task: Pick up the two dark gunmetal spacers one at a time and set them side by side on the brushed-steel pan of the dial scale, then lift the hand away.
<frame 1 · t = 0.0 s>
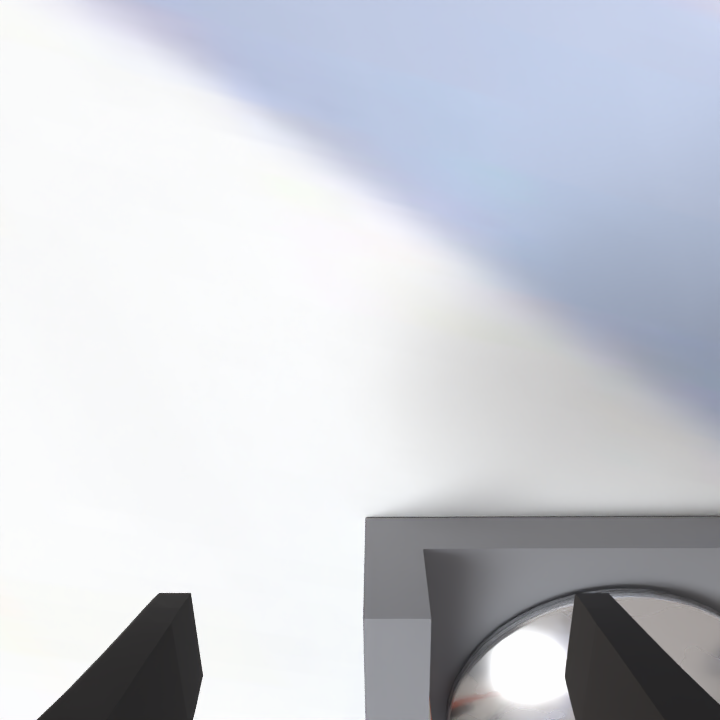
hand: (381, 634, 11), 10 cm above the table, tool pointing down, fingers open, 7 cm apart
scale: (550, 670, 25), on the table
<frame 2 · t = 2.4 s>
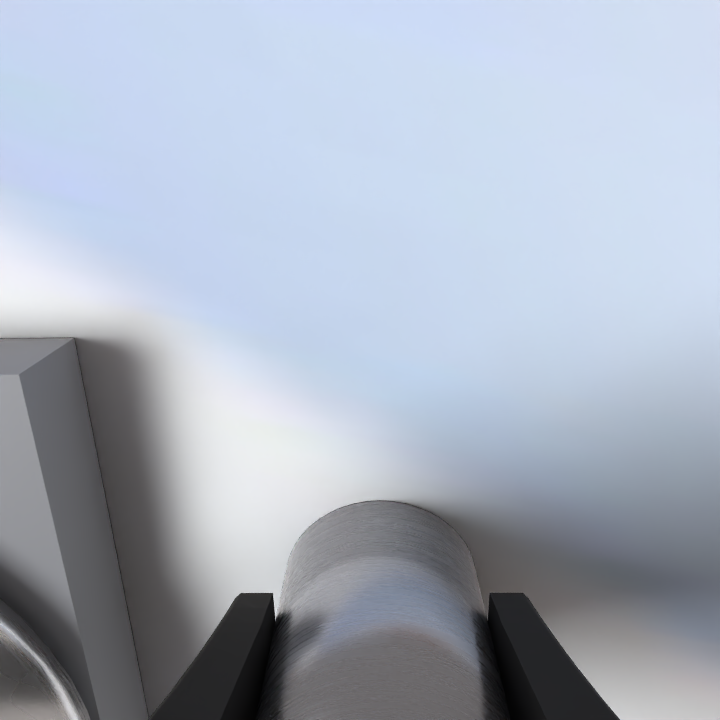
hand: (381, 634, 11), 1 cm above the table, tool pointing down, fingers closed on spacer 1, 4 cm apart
spacer 1: (380, 582, 13), on the table, touching gripper
when the fingers open (5 cm above the table, at t = 5.4 s): spacer 1 drops 1 cm, resting on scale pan.
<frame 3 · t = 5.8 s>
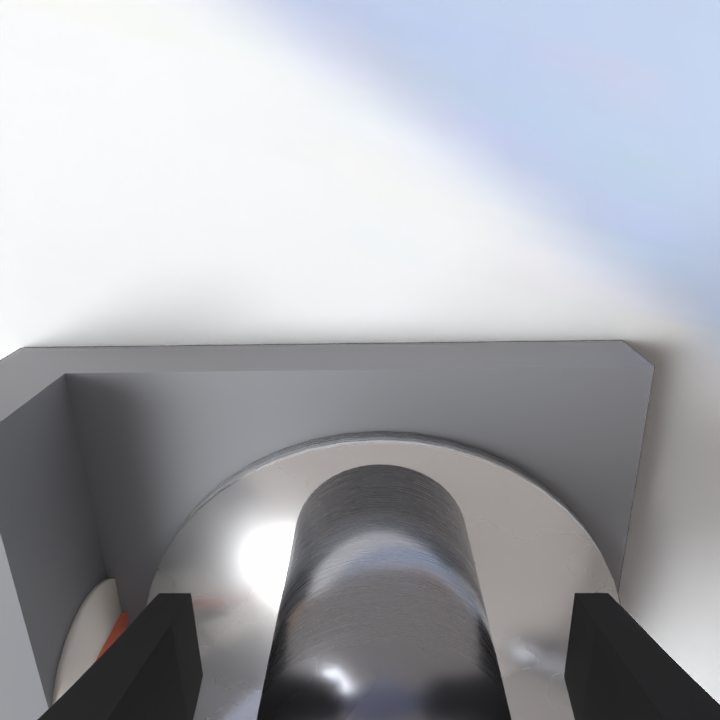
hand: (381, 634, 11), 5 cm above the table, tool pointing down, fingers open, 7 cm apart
spacer 1: (380, 539, 14), point 2 cm above the table, touching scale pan
scale: (329, 586, 17), on the table
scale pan: (381, 645, 15), point 2 cm above the table, slide at 0.5 cm, touching spacer 1
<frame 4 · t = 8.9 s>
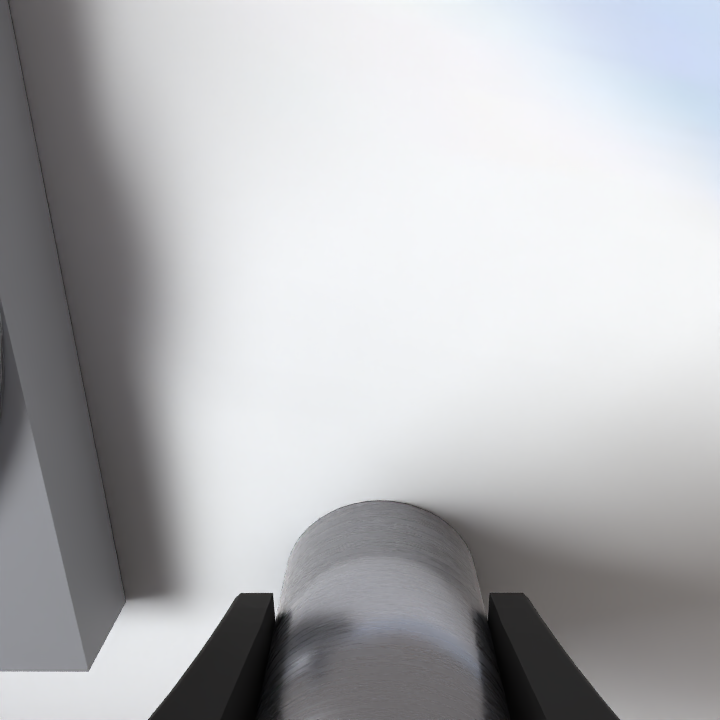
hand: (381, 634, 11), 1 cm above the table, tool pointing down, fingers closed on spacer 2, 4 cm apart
spacer 2: (380, 582, 13), on the table, touching gripper
when the fingers open (5 cm above the table, at t = 11.9 s): spacer 2 drops 1 cm, resting on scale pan.
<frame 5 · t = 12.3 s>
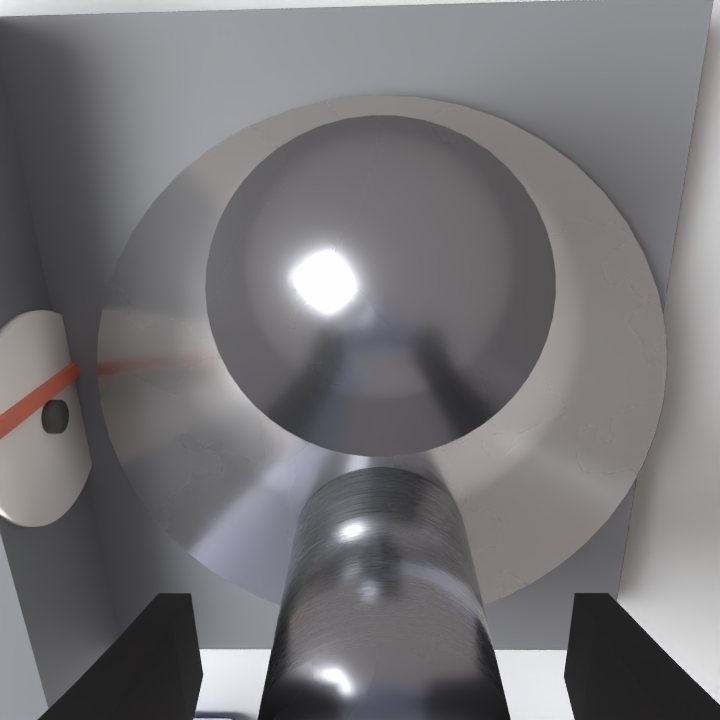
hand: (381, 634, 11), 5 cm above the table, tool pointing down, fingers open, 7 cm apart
spacer 1: (377, 236, 12), point 2 cm above the table, touching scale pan
scale: (318, 362, 15), on the table
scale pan: (378, 396, 13), point 2 cm above the table, slide at 0.5 cm, touching spacer 1, spacer 2
spacer 2: (380, 541, 14), point 2 cm above the table, touching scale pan
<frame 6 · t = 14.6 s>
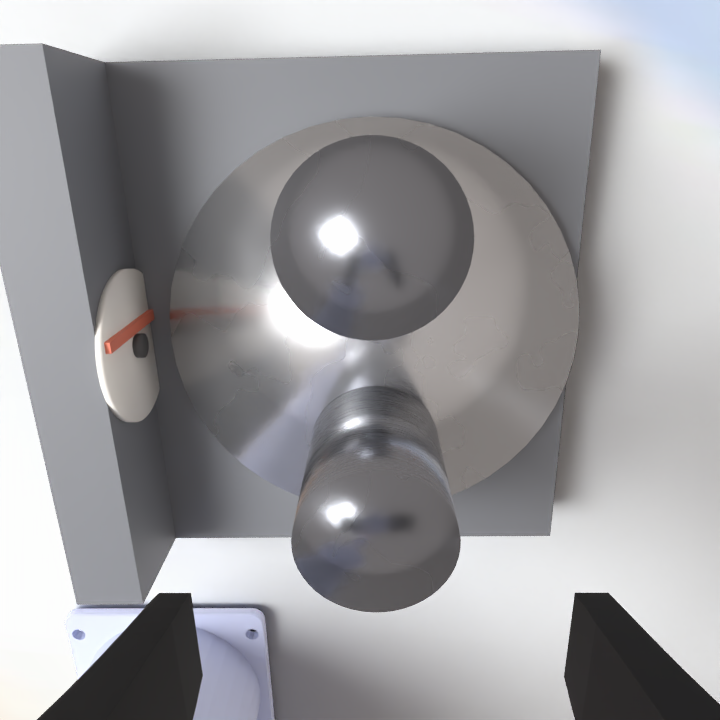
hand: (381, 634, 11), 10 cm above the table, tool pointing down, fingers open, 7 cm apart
spacer 1: (371, 214, 16), point 2 cm above the table, touching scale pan
scale: (327, 314, 20), on the table
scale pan: (373, 333, 18), point 2 cm above the table, slide at 0.5 cm, touching spacer 1, spacer 2
spacer 2: (374, 444, 19), point 2 cm above the table, touching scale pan
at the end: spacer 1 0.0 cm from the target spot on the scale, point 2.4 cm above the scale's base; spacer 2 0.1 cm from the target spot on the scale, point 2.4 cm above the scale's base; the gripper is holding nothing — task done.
